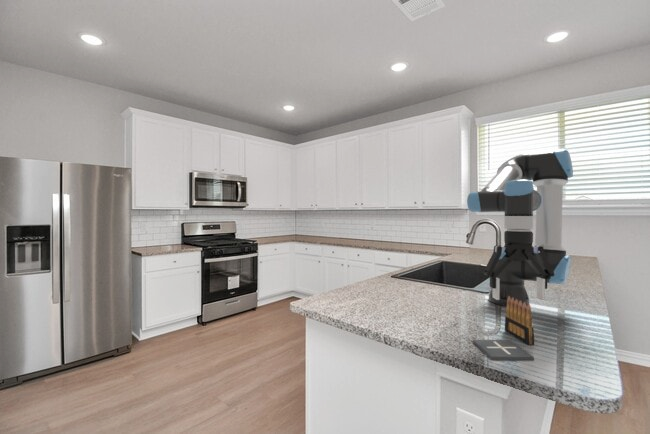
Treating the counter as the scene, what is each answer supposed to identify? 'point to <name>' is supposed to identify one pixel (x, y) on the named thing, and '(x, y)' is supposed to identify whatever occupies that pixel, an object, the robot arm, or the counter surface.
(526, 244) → the robot arm
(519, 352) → the mat
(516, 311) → the ammunition clip
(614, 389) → the counter surface
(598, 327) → the counter surface
